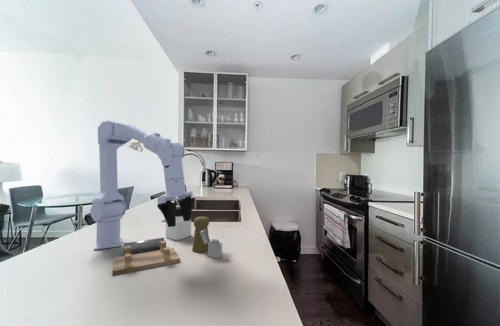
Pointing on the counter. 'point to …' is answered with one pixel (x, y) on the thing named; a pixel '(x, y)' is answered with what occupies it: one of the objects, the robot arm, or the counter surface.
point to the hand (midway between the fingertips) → (180, 223)
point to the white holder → (212, 245)
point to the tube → (144, 245)
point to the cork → (198, 242)
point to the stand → (144, 259)
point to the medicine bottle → (179, 227)
